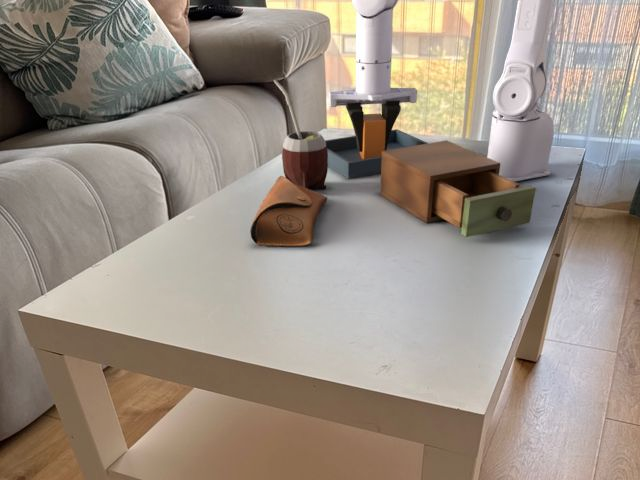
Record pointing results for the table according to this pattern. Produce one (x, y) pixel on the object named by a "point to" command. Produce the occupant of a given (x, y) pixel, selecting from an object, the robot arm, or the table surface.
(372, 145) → the orange wooden block
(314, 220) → the sunglasses case
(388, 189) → the cabinet
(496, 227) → the drawer
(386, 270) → the table surface
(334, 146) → the tray
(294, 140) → the mate gourd
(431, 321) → the table surface
